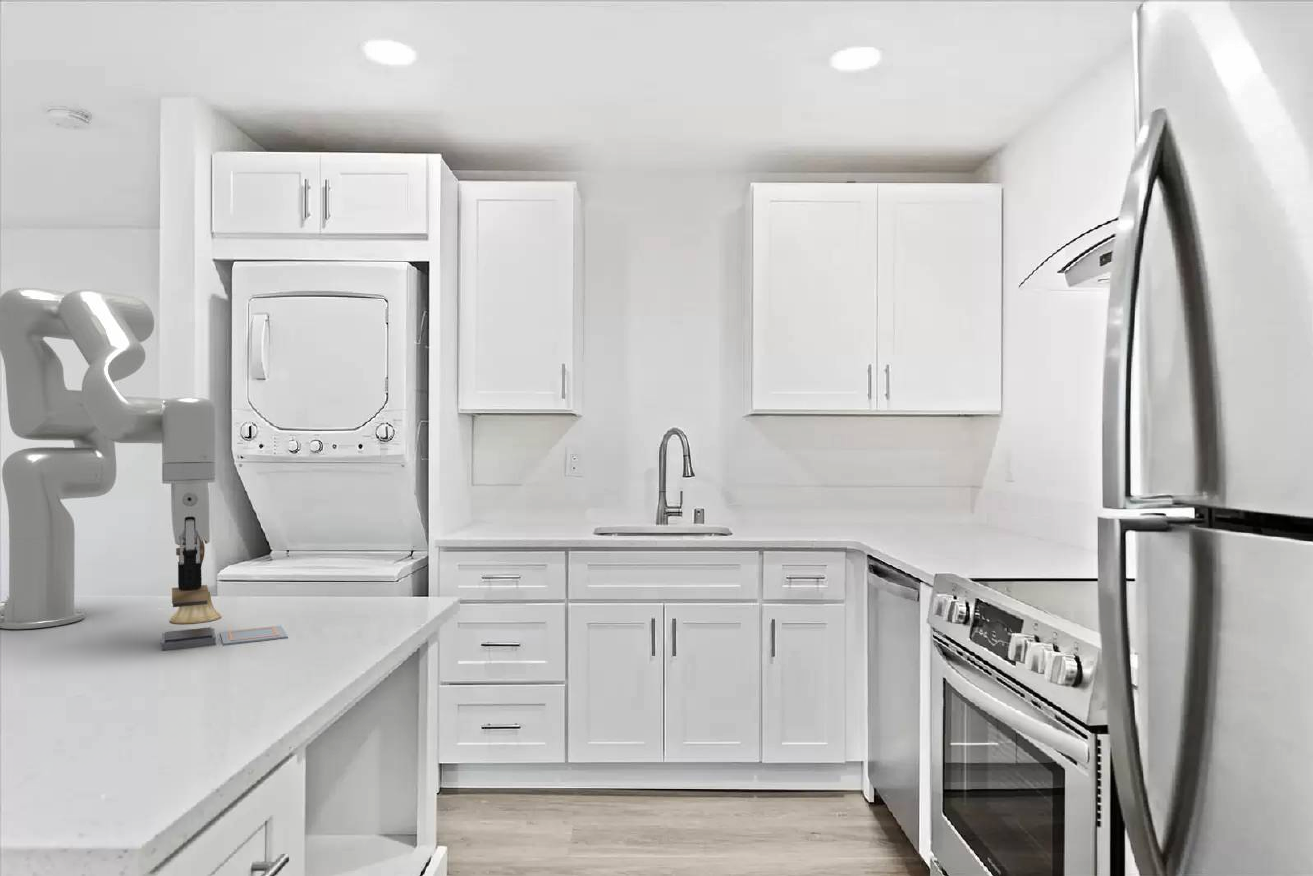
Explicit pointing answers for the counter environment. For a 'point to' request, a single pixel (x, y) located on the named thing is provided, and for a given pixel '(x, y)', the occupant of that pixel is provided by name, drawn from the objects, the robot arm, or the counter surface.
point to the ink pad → (188, 638)
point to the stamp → (189, 592)
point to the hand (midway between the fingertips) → (189, 586)
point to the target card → (252, 635)
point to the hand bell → (196, 608)
